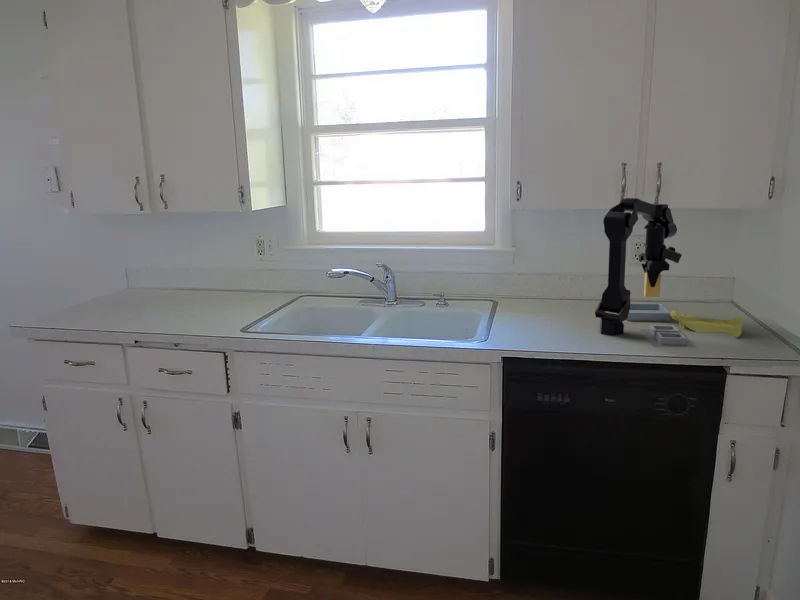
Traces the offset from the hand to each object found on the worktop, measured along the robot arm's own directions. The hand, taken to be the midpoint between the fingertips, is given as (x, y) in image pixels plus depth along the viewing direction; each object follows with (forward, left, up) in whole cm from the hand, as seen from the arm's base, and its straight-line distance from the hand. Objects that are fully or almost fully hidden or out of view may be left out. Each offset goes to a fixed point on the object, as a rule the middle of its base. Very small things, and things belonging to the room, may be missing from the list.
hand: (651, 285), depth 195 cm
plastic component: (+14, -12, -13) cm, 22 cm away
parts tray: (0, +6, -13) cm, 14 cm away
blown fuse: (0, 0, -4) cm, 4 cm away
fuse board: (0, -25, -13) cm, 28 cm away
